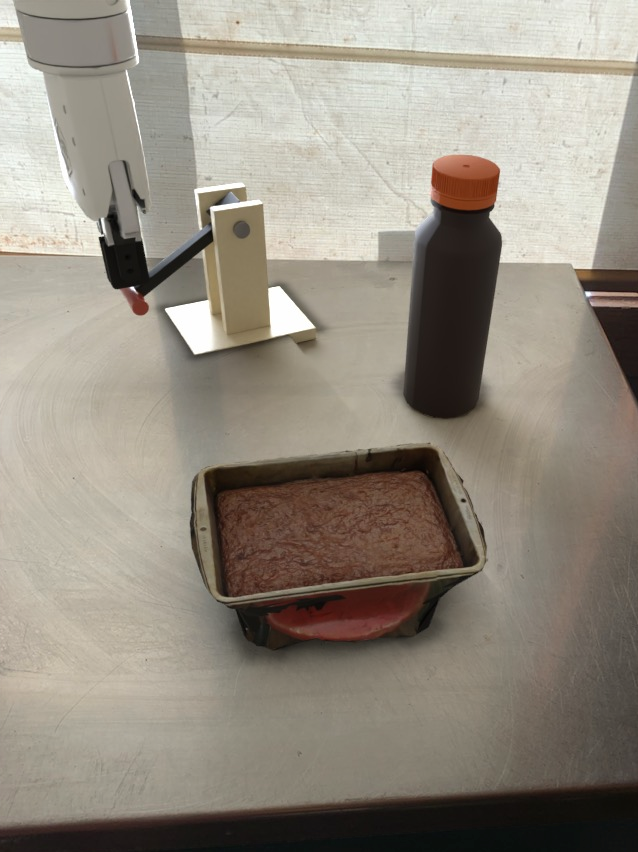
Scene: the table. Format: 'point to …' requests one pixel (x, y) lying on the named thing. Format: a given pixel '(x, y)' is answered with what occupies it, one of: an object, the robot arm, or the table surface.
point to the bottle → (452, 288)
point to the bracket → (236, 281)
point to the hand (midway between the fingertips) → (129, 282)
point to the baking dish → (335, 542)
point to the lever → (172, 263)
